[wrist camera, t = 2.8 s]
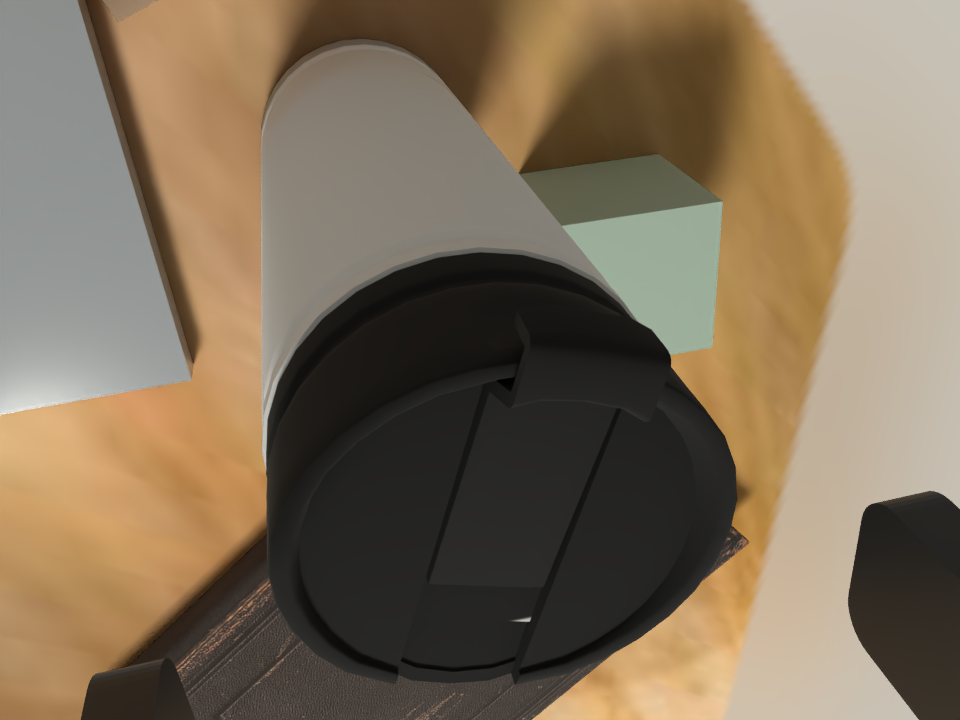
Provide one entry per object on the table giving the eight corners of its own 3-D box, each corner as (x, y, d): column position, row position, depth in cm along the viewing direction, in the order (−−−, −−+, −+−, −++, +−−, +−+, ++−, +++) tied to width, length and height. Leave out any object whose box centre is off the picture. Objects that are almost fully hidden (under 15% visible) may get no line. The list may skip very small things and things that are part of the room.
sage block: (517, 173, 30) (560, 226, 25) (658, 153, 30) (722, 201, 26) (524, 305, 32) (564, 373, 28) (653, 283, 33) (712, 347, 29)
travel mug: (482, 50, 27) (852, 370, 10) (435, 247, 30) (663, 751, 13) (277, 3, 25) (313, 299, 8) (248, 217, 28) (231, 762, 11)
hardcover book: (726, 510, 40) (750, 543, 38) (380, 796, 45) (386, 839, 43) (494, 304, 32) (509, 333, 30) (105, 678, 37) (96, 724, 35)
